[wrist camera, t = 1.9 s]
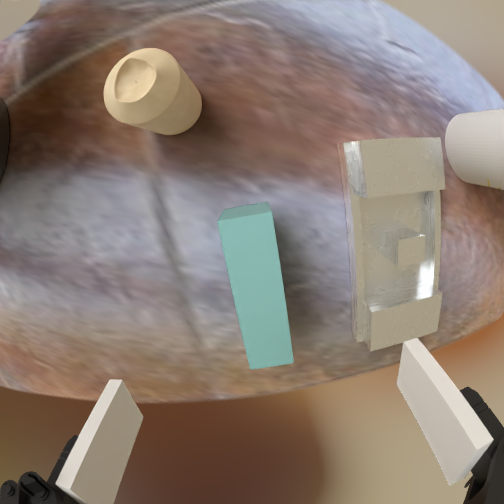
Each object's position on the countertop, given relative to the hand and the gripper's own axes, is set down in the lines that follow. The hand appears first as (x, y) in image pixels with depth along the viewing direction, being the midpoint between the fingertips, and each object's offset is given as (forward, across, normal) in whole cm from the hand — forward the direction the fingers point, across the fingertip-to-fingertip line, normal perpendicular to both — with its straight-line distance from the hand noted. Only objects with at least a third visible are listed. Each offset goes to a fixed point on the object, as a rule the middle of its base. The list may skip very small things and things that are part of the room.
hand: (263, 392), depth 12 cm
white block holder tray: (+17, +14, 0) cm, 22 cm away
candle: (+17, -5, +16) cm, 24 cm away
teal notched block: (+17, 0, 0) cm, 17 cm away
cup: (+17, +26, +9) cm, 32 cm away
